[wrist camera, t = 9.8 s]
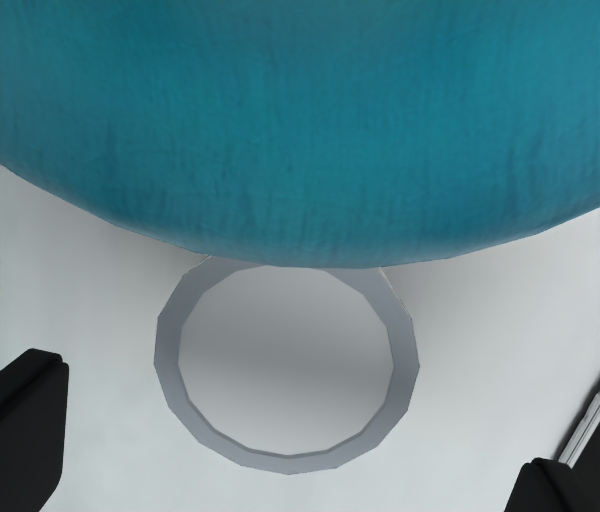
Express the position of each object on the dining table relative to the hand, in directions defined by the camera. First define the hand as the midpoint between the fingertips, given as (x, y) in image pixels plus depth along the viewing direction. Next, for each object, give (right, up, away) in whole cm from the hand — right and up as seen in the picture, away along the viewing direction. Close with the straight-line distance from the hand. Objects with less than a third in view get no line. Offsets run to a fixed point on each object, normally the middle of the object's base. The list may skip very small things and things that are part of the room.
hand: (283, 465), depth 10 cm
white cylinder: (0, +4, +9) cm, 10 cm away
